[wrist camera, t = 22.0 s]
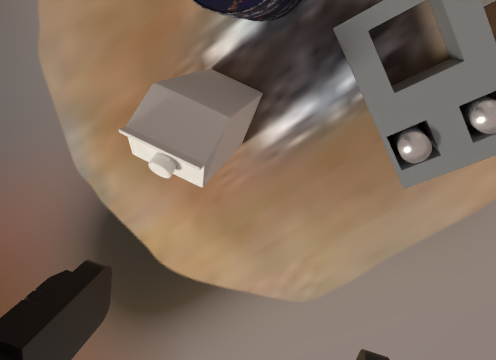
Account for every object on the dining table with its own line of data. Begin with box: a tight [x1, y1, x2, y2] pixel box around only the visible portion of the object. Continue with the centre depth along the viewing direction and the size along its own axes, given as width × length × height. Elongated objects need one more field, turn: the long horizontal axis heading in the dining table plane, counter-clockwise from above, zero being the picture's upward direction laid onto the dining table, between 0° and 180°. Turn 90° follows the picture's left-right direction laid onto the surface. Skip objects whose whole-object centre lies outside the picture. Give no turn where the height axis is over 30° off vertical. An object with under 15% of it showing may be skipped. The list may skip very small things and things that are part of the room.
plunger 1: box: [393, 125, 432, 163], centre depth 40 cm, size 3×3×6 cm
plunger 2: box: [459, 96, 496, 134], centre depth 38 cm, size 3×3×6 cm
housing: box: [333, 0, 496, 189], centre depth 39 cm, size 18×12×5 cm, turn 29°
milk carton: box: [119, 69, 263, 187], centre depth 38 cm, size 7×7×19 cm
